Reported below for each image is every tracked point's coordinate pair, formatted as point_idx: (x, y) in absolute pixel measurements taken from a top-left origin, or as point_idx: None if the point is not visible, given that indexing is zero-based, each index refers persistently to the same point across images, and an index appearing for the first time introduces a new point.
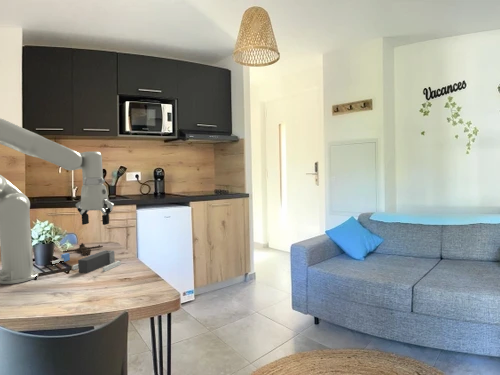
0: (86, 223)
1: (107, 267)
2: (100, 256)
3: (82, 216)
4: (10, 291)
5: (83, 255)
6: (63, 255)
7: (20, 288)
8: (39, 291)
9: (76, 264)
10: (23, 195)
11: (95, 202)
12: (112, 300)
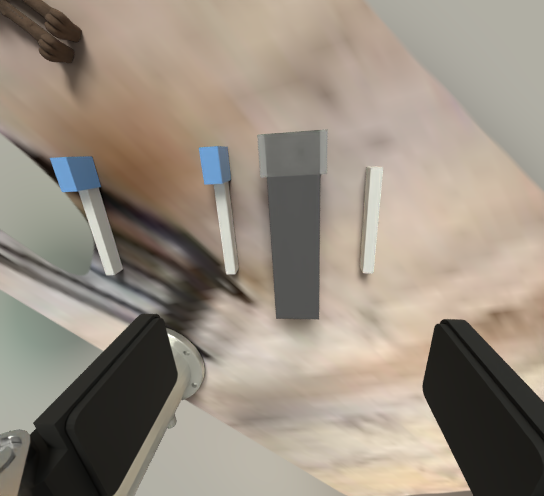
0: (168, 348)
1: (373, 256)
2: (319, 238)
3: (116, 482)
4: (236, 421)
5: (70, 62)
6: (75, 190)
7: (239, 407)
8: (303, 417)
9: (224, 256)
10: None
11: None
12: None
